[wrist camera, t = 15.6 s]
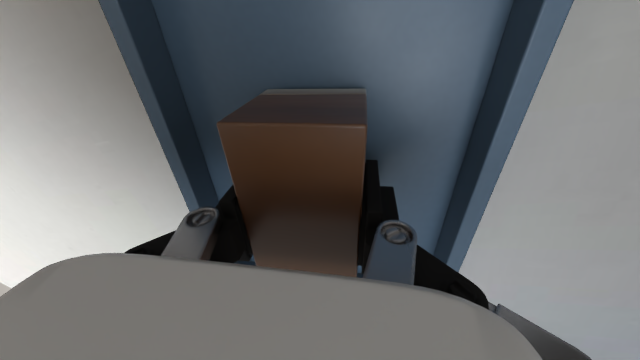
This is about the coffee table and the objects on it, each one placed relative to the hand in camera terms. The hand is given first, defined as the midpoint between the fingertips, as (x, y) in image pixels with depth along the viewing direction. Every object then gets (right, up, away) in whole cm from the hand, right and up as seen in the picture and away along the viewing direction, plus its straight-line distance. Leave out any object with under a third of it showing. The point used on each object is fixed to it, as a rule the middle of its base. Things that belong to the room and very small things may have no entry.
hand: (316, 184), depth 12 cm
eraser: (0, 0, +1) cm, 1 cm away
